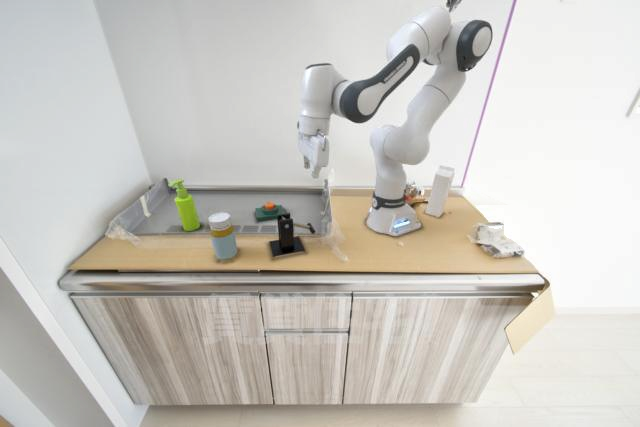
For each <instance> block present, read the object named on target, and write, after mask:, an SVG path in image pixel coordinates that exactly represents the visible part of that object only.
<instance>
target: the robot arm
mask: <svg viewBox="0 0 640 427" xmlns="http://www.w3.org/2000/svg"><path fill="white" fill-rule="evenodd" d="M493 37H494V36H493V26H492V25H491V23H490V22H489V21H486V20H482V19H473V20H465V21H456V22H453V23H452V19H451V15H450V13H449V11H448V10H447V9H446V7H443V6H441V5H435V6H432V7H429V8H427V9H425V10H423V11H422V12H420V13H418V14H416V15H415V16H413V17H412V18H411V19H410V20H408V21H407V22H406V23H405V24H403V25H402V26H401V27H400V28H398V30H396V31H395V32H394V33H393V35H391V37H390V38H389V39H388V41H387V43H386V49H385V50H386V51H385V53H386V60H387V62H386V63H385V64H384V65H383V66H382V67H380V68H379V70H378V71H377V72H375V73H374V74H373V75H372V76H370V77H368V78H366V79H360V80H349V79H348V78H346V77H344V76H343V75H342V74H340V73H339V72H338V70H337V69H336V68H335V67H334V65H333V64H332V63H329V62H322V63H321V62H320V63H313V64H309V65H307V66H306V67H305V68H304V71H303V74H302V80H301V88H300V102H301V109H300V111H299V120H298V121H297V123H296V129H297V130H298V133H297V136H298V137H297V138H298V139H297V140H298V150H299V152H300V153H301V154H302V160H303V168H304V169H305V170H306V169H307V170H309V169H310V168H311V164H312V167H313V169H312V171H311V177H312V179H319V177H320V172H321V170H322V168H327V167H328V165H329V160H330V141H329V139H328V138H327V136H329V134H330V127H331V126H330V125H331V116H332V115H335V116H338V117H340V118H343V119H345V120H348V121H350V122H352V123H354V124H364V123H367V122H368V121H370V120H371V119H372V118H374V116H375V115H376V114H377V112H378V111H379V109H380V108H381V106H382V104H383V103H384V101H385V100H386V99H387V98H388V97H389V96H390V95H391V94H392V93H393V92H394V91H396V89H397V88H398V87H399V86H400V85H402V83H403V82H404V81H406V80H407V78H408V77H409V76H411V74H412V73H413V72H414V71H415V70H416V69H417V67H418V65H419V64H421V63H423V64H425V65H428V66H436V67H435V70H434V72H433V74H432V76H431V77H430V78H429V79H428V81H426V82H425V84H424V85H423V86H422V87H421V88H420V90H419V91H418V92H417V93H416V95H415V96H414V97H413V99H411V101H410V102H409V103H408V104H407V106H406V114H407V117H406V119H405V121H404V123H403V124H402V125H401V126H397V125H394V124H380V125H378V126H376V127H374V129H373V130H372V131H371V132H370V135H369V144H370V146H371V147H370V148H372V151H373V155H374V156H373V157H374V162H375V173H376V174H375V184H374V190H373V192H372V197H371V207H370V209H369V214H368V217H367V219H366V221H365V223H366V226H367V227H368V228H369V229H371V230H372V231H374V232H376V233H381V234H386V235H389V236H391V237H399V236H402V235H404V234H407V233H410V232H413V231H415V230H416V231H417V230H418V229H421V227H422V224H421V222H420V221H419V219H417V212H416V210H415V209H414V207H413V206H414V204H412V203H411V205H409V203H410V202H411V201H412V200H413V198H412V197H411V196H410V195H406V194H405V189H406V184H407V179H408V178H407V173H406V171H405V168H404V167H403V165H408V166H416V165H419V164H421V163H422V162H424V161H425V159H426V158H427V157H428V155H429V153H430V149H431V144H430V143H431V142H430V135H431V131H432V129H433V128H434V126H435V124H436V123H437V122H438V121H439V119H440V118H441V117H442V116H443V115H444V113H445V112H446V111H447V109H448V108H449V107H450V106H451V104H452V103H453V102H454V101H455V99H456V98H457V97H458V95H459V94H460V92H461V90H462V89H463V87H464V85H465V83H466V81H467V74H466V73H467V72H469V71H471V70H473V69H474V68H475V67H476V66H477V64H478V63H479V62H480V61H481V60H482V59H483V58H484V56H485V55H486V54H487V52H488V51H489V49H490V47H491V45H492V41H493ZM422 201H423V202H422V204H428V201H429V200H428V201H427V200H422ZM407 202H409V203H407Z"/></svg>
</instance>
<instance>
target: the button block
mask: <svg viewBox="0 0 640 427" xmlns="http://www.w3.org/2000/svg"><path fill="white" fill-rule="evenodd" d="M254 210H255V216H256V220H257V223H260V222H261V223H262V222H266V221H274V220H277V215H278V214H286V211H285V209H284V207H283V204H275V203H274V209H271V210H266V209H265V204H263V205H262V206H261V207H256V208H255V209H254Z"/></svg>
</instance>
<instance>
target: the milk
mask: <svg viewBox="0 0 640 427" xmlns="http://www.w3.org/2000/svg"><path fill="white" fill-rule="evenodd" d="M454 177H455V167H450V166H446V165H445V166H444V165H438V169H437V170H436V172H435V174H434V177H433V182H432V185H431V189H430V194H429V198H428V203H427V205H426V209H425V214H426V215H429V216H432V217H436V218H440V217H441V216H442V215H443V214H444V210H445V207H446V204H447V201H448V198H449V194H450V190H451V188H452V184H453V181H454Z"/></svg>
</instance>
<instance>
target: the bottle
mask: <svg viewBox="0 0 640 427" xmlns="http://www.w3.org/2000/svg"><path fill="white" fill-rule="evenodd" d="M208 222H209V227H210V230H209V232H210V237H211V242H212V246H213V250H214V255H215V258H216V259H218V260H219V261H227V260H232V259H233V258H235V257H236V256H237V255H238V252H239V251H238V250H239V249H238V245H237V244H238V243H237V239H236V233H235V228H234V226H233V225H232V220H231V215H230V214H229V213H228V212H217V213H213V214H212V215H210V216H209V217H208Z"/></svg>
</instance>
